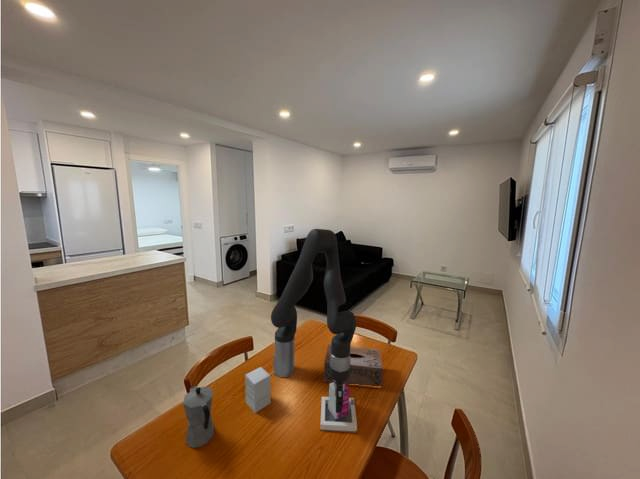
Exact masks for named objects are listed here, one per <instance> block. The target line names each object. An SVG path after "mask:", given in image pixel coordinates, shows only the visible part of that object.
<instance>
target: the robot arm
mask: <svg viewBox="0 0 640 479" xmlns="http://www.w3.org/2000/svg"><path fill="white" fill-rule="evenodd" d="M337 239H338V238H337V235H336V234H335V232H334V231H333V230H331V229H322V228H314V229H311V230H310V231H309V232H308V233H307V235H306V238H305V241H304V243H303V246H302V249H301V251H300V254H299V257H298V259H297V262H296V264H295V266H294V269H293V271H292V272H291V274H290V277H289V279H288V281H287V283H286V285H285V287H284V290H283V292H282V293H281V296H280V298H279V299H278V301H277V302H276V304H275V305H274V308H272V310H271V314H270V321H271V323H272V325H273V326H274V327H275V328H277V329H276V330H275V333H274V354H273V375H275V376H277V377H279V378H288V377H290V376H292V375H293V374H294V372H295V336H296V332H297V324H298V311H297V309H296V307H295V306H296V305H297V303H298V302H299V301H300V300H301V299H302V298H303V297H304V296H305V295H306V293H307V292H308V290H309V288H310V286H311V285H312V282H313V280H314V272H313V262H314V259H315V258H316V256H317V254H319V253H323V254H324V256H325V260H326V267H325V268H326V269H325V273H324V277H323V289H324V294H325V298H326V304H327V308H326V309H327V310H326V312H327V313H326V325H327V329H328V330H329V332H330V333H331V334H333V335H334V336H333V337H332V338H331V342H330V343H331V344H330V345H331V355H330V377H331V378H332V379H333V380H334V387H335V397H336V401H335V403H336V413H342V407H343V397H344V388H345V383H344V381H346V380H348V379H349V377H350V347H351V344H352V341H353V338H354V335H355V332H356V328H357V317H356V316H355V314H354V313H353V312H352V311H350V310H343V311H339V307H340V306H342V305H344V304H346V302H347V298H346V294H345V290H344V285H343V281H342V277H341V270H340V269H341V268H340V259H339V248H338V240H337ZM342 389H343V391H342Z"/></svg>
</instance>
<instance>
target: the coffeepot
mask: <svg viewBox="0 0 640 479" xmlns="http://www.w3.org/2000/svg"><path fill="white" fill-rule="evenodd" d="M213 391H214V390H213V389H212V388H210V387H207V386H196V385H194V386H191V387H190V388H189V392H188V393H186V394H185V395H184V398H183V401H182V402H183V403H182V404H183V405H182V406H183V409H184V412H185V413H184V414H185V417H186V420H187V421H188V423H187V430H186V438H185V444H186V445H188V447H190V448H194V449H196V448H199V447H202V446H205V445H206V444H208V443H209V442H210V441H211V440H212V438H213V436H214V435H215V434H214V433H215V426H214V425H215V424H214V421H213V417H212V413H211V412H212V405H213V404H212V401H213V394H214V393H213Z"/></svg>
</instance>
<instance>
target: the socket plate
mask: <svg viewBox="0 0 640 479" xmlns="http://www.w3.org/2000/svg"><path fill="white" fill-rule="evenodd" d="M328 401H329V396H321V402H320V403H321V405H320V406H321V407H320V428H319V429H320V430H319V431H327V432H328V431H329V432H339V431H340V433H343V432H345V433H352V432H351V431H357V432H358V423H357V414H356V404H355V398H353V397H352V398H351V397H349V407H348V415H347V416H344V417H342V418H340V419H338V420H335V419H334V418H333V416H332V415H331V413H330V412H329V410H328ZM346 431H347V432H346Z"/></svg>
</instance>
